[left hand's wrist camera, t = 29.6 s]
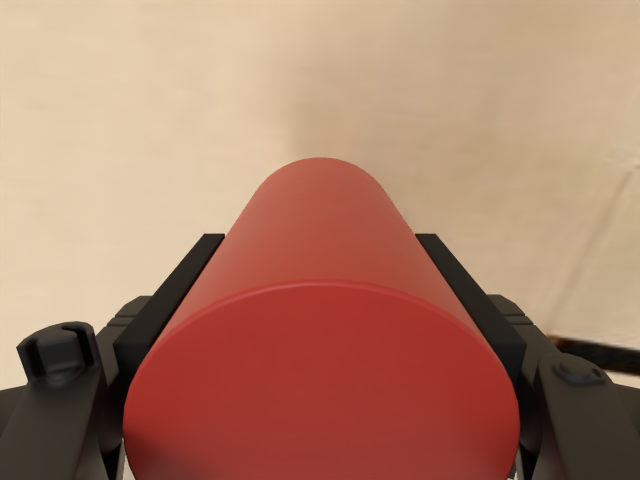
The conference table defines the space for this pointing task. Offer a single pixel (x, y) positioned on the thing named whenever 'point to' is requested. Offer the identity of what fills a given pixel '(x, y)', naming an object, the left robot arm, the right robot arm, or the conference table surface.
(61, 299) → the conference table surface
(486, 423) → the canister
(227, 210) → the conference table surface
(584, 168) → the conference table surface
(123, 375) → the left robot arm
